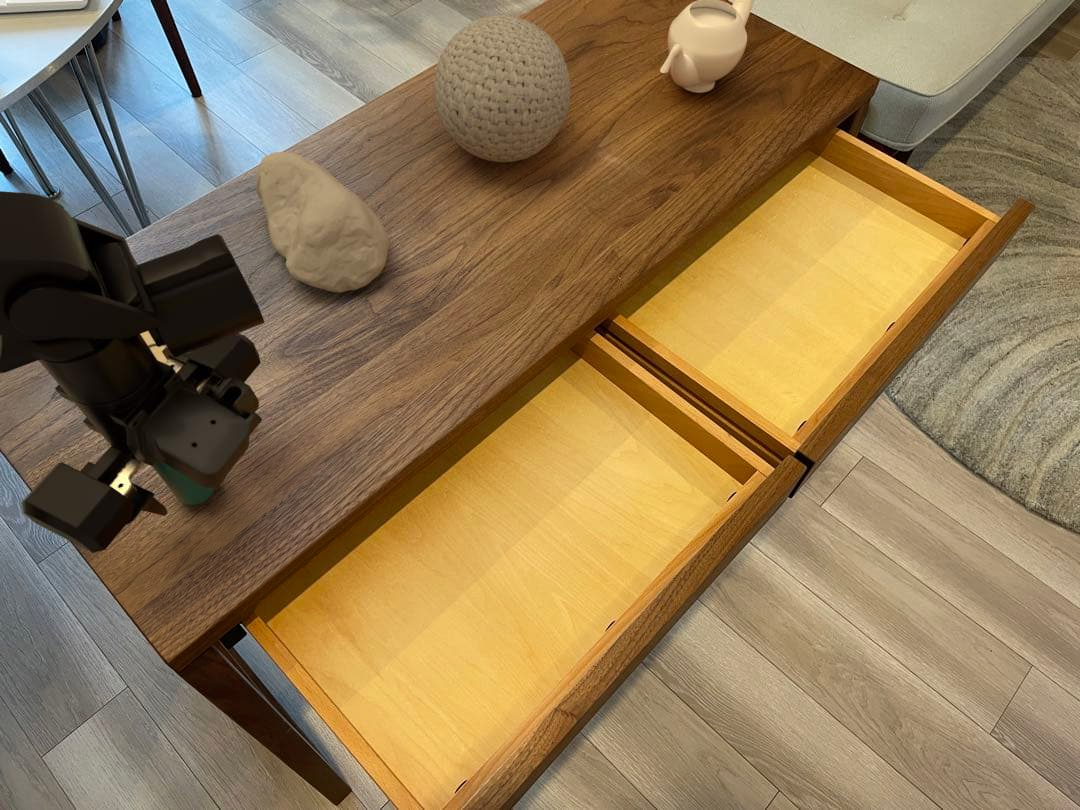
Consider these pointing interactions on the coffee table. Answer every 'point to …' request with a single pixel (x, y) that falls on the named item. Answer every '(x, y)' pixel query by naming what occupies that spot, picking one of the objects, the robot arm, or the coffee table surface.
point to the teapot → (706, 42)
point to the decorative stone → (320, 224)
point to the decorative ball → (502, 88)
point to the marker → (184, 486)
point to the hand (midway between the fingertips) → (188, 478)
